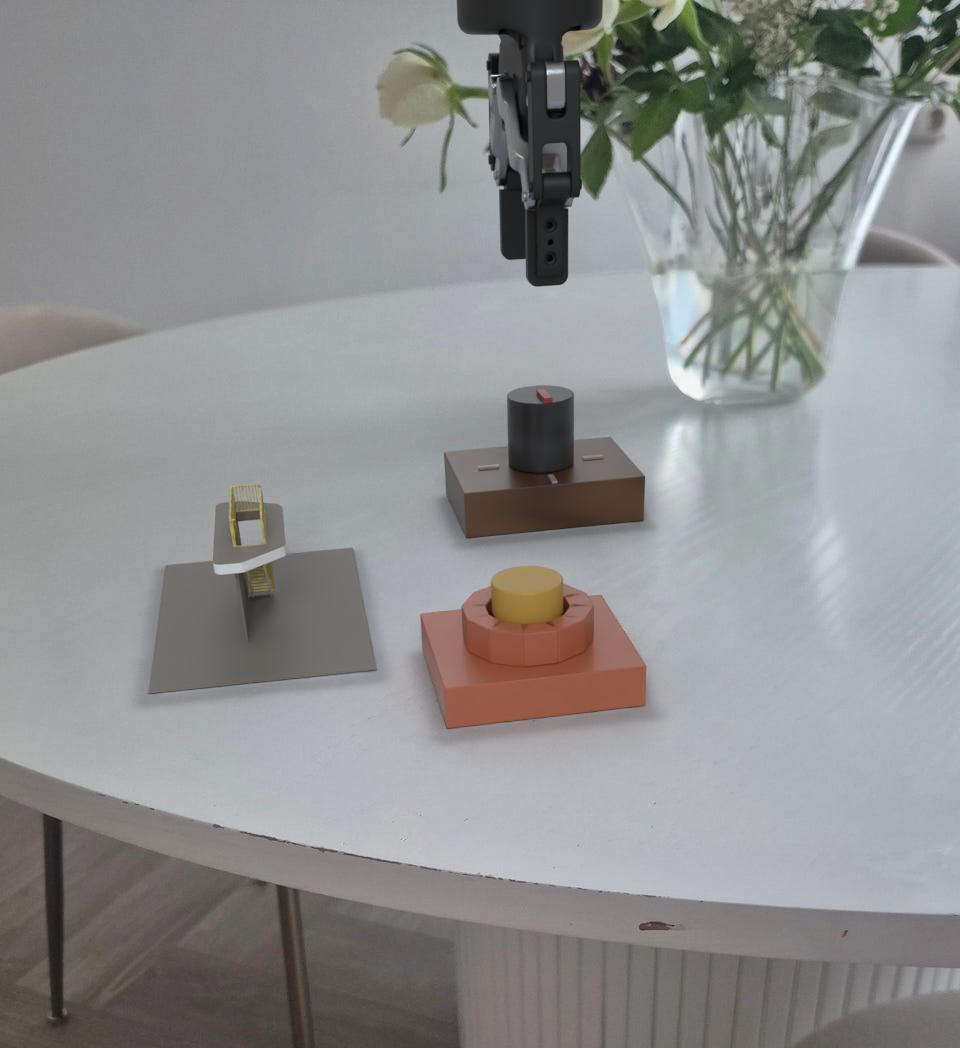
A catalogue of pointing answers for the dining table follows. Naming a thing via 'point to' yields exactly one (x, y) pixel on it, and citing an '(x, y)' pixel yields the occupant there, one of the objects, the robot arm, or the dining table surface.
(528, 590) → the button
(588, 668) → the button box
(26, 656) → the dining table surface
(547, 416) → the dial knob
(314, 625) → the platform
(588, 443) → the control panel
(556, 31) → the robot arm
